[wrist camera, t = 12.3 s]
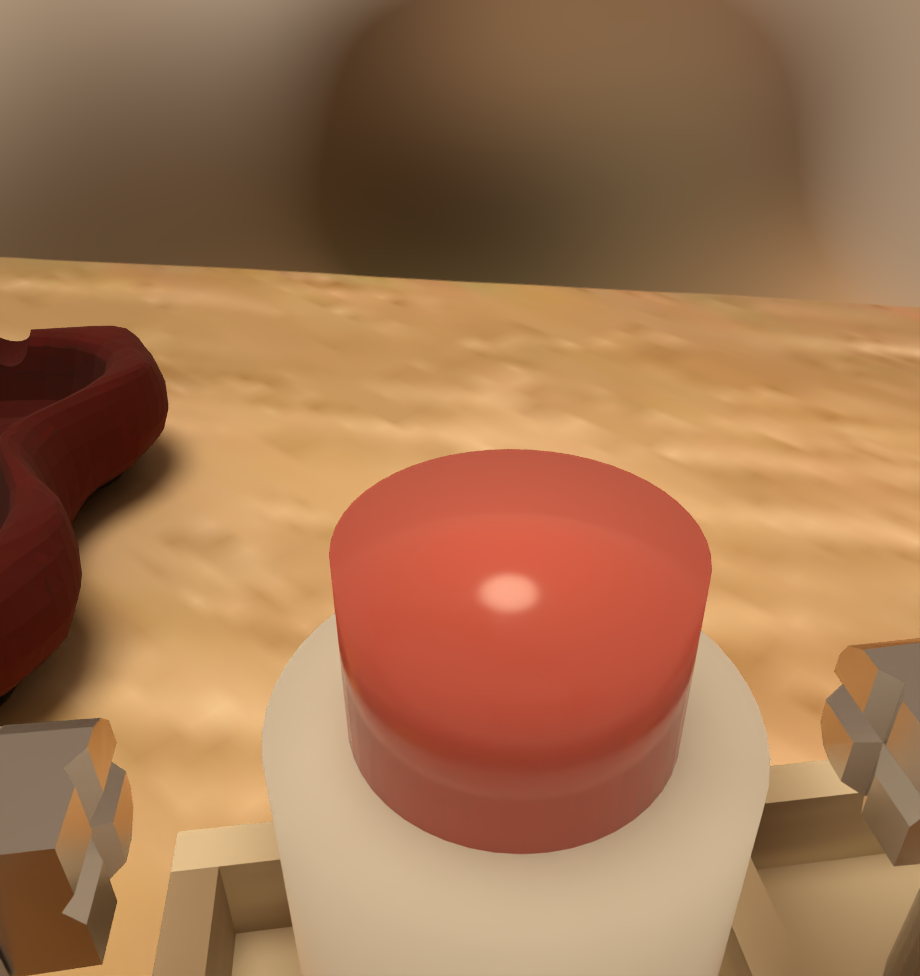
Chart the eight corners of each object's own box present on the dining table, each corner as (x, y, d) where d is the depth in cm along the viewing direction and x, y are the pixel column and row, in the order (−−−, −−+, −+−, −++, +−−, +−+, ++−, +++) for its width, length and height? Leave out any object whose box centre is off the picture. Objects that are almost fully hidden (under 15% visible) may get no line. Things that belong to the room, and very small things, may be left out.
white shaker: (339, 1380, 11) (188, 804, 5) (338, 992, 15) (254, 428, 9) (706, 1316, 11) (951, 723, 6) (608, 958, 15) (691, 401, 10)
